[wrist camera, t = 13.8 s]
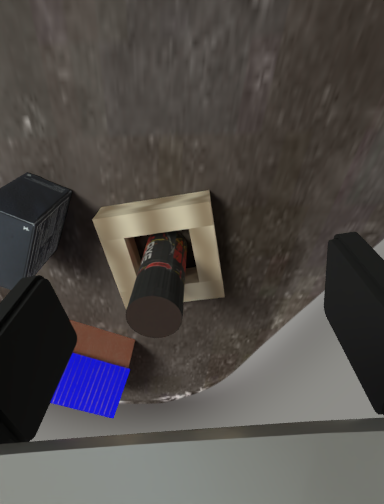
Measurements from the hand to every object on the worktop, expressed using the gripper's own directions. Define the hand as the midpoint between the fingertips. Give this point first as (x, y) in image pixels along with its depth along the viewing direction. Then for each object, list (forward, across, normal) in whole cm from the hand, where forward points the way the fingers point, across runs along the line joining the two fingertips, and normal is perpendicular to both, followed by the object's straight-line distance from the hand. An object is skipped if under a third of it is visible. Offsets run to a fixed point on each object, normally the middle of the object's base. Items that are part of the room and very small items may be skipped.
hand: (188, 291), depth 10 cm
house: (+31, +28, +33) cm, 53 cm away
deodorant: (+31, +7, +15) cm, 35 cm away
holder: (+30, +7, +15) cm, 34 cm away
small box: (+31, +23, +7) cm, 39 cm away
